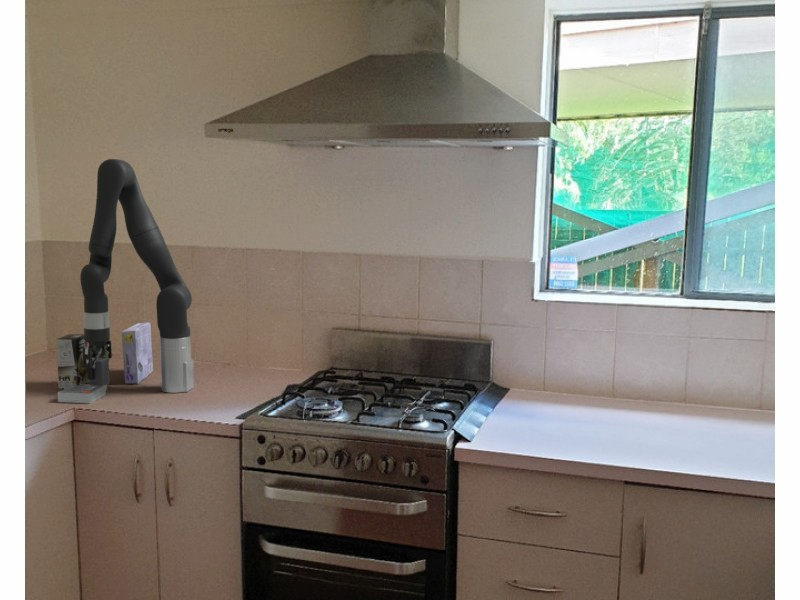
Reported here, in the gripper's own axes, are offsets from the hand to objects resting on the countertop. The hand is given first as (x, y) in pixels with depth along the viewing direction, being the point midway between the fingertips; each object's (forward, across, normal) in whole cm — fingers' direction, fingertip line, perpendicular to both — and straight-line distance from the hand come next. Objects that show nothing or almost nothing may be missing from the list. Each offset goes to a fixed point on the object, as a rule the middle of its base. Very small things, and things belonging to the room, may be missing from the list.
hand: (98, 376), depth 243 cm
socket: (+4, -11, 0) cm, 12 cm away
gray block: (+4, 0, 0) cm, 4 cm away
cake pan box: (+4, +16, -6) cm, 18 cm away
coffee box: (+4, +3, +10) cm, 11 cm away
